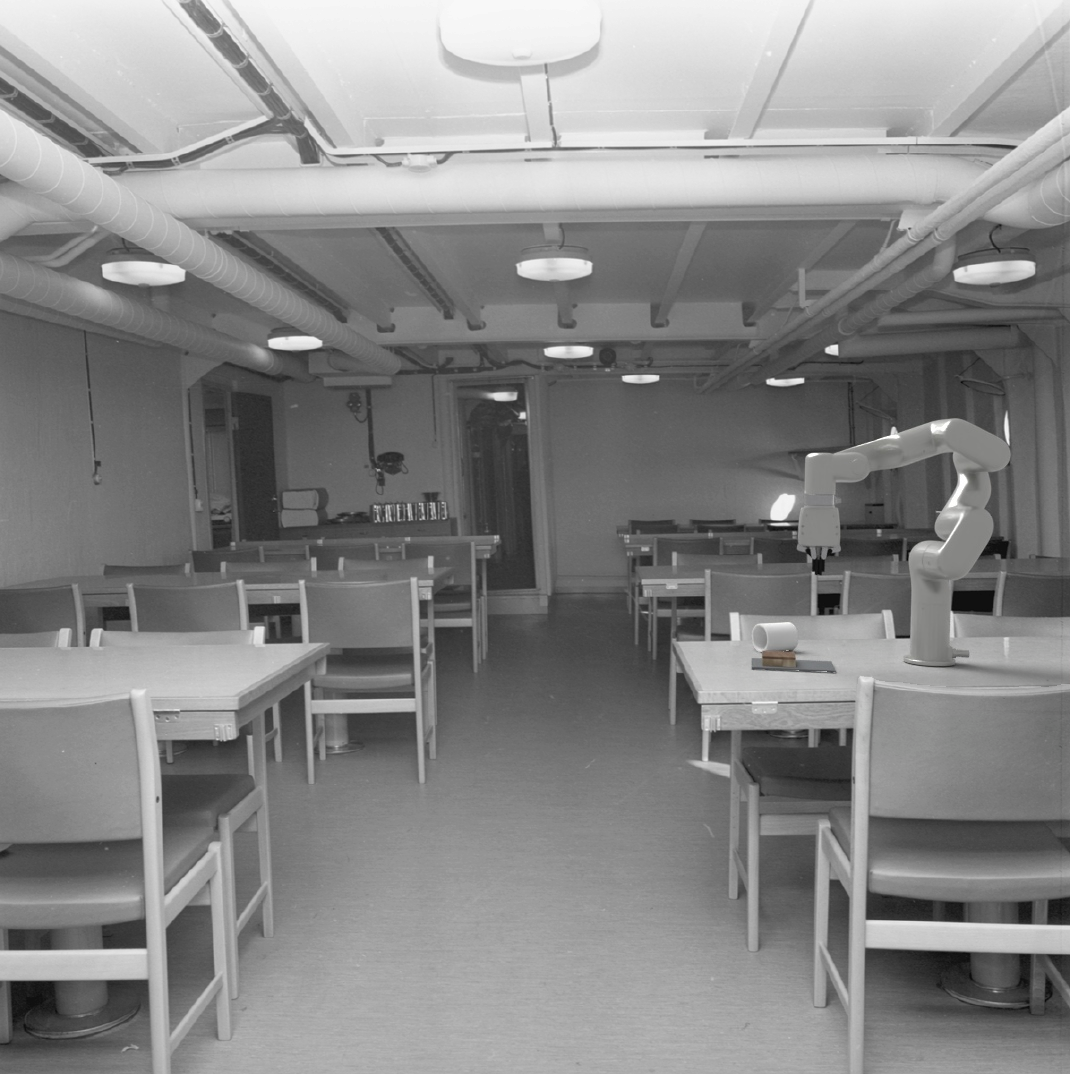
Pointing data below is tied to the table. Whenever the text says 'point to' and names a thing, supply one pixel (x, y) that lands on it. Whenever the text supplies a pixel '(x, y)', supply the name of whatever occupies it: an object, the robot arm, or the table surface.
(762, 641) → the mug
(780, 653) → the tile
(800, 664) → the mat
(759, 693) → the table surface
